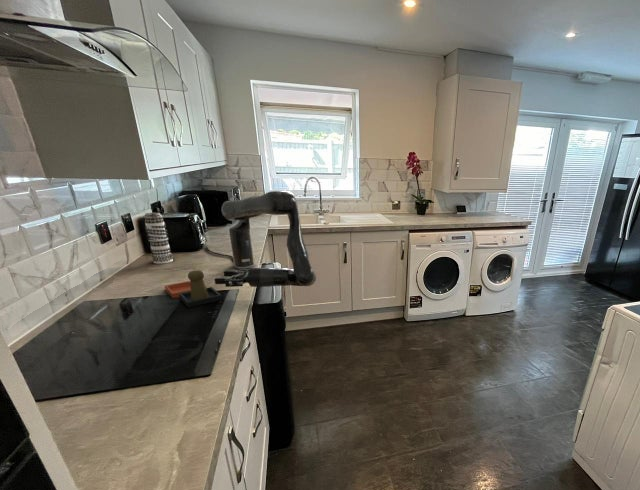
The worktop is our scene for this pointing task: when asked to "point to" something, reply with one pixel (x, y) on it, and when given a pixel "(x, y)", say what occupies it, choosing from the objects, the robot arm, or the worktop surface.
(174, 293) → the terracotta tray
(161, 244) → the white patterned cylinder
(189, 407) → the worktop surface
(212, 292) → the charcoal tray
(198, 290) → the cork
